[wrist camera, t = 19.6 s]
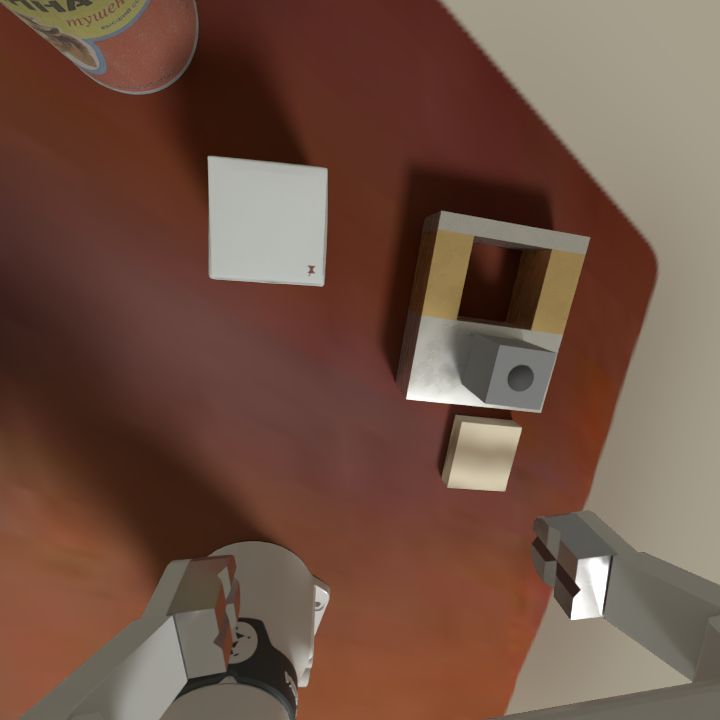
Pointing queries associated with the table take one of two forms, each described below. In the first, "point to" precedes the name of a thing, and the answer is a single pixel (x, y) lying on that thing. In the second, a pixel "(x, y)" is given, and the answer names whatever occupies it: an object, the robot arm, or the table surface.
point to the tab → (480, 453)
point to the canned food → (118, 38)
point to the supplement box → (267, 221)
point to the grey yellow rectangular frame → (455, 333)
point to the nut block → (508, 371)
